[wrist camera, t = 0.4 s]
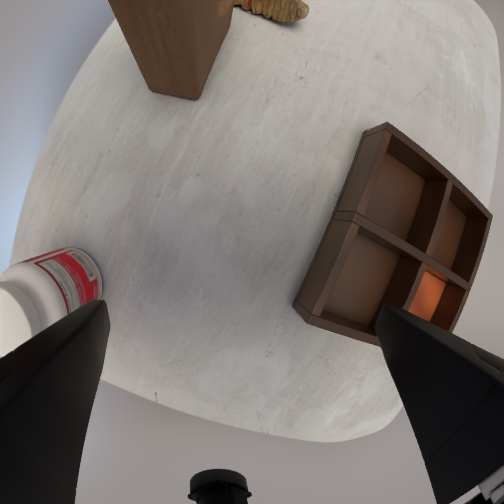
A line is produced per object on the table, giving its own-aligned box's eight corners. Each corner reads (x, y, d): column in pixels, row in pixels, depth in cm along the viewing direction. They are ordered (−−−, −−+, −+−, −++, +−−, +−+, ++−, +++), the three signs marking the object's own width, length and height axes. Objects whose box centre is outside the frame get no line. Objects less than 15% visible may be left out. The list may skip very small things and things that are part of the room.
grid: (416, 348, 28) (436, 362, 24) (291, 306, 25) (306, 323, 21) (469, 213, 27) (493, 215, 23) (363, 131, 24) (387, 121, 20)
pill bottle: (47, 305, 21) (-22, 355, 11) (49, 240, 21) (-33, 262, 10) (103, 320, 23) (48, 387, 12) (108, 253, 22) (39, 288, 11)
